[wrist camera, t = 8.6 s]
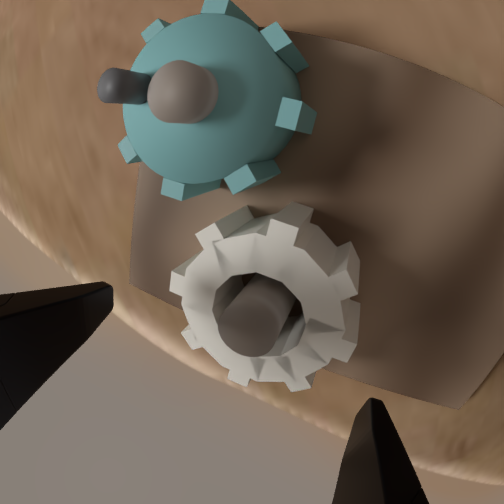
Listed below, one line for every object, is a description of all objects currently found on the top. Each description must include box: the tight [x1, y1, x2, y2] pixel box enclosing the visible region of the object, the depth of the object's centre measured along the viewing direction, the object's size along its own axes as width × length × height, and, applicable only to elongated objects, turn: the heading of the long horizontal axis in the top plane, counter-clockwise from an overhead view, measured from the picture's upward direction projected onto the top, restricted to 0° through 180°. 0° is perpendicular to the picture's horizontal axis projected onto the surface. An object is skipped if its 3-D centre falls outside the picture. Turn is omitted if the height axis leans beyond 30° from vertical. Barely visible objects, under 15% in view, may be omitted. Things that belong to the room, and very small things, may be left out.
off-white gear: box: [169, 201, 361, 392], centre depth 12 cm, size 7×7×3 cm
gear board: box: [129, 27, 504, 410], centre depth 10 cm, size 20×14×5 cm
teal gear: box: [97, 0, 317, 201], centre depth 10 cm, size 7×7×5 cm
